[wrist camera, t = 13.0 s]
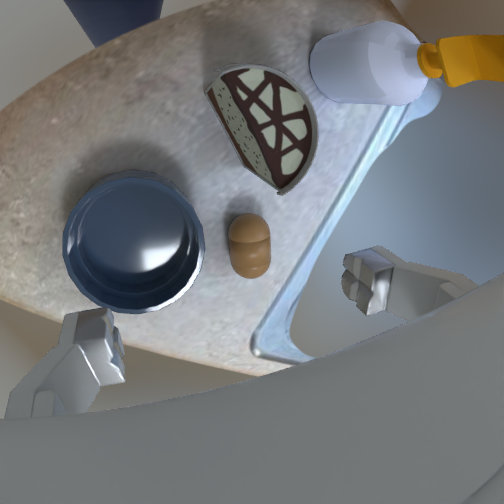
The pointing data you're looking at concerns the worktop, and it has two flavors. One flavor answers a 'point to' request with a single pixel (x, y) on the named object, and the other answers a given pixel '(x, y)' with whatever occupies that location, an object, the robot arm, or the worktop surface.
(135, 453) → the robot arm
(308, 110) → the cake slice
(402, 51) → the soap bottle
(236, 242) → the potato
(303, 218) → the worktop surface
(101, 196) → the bowl
